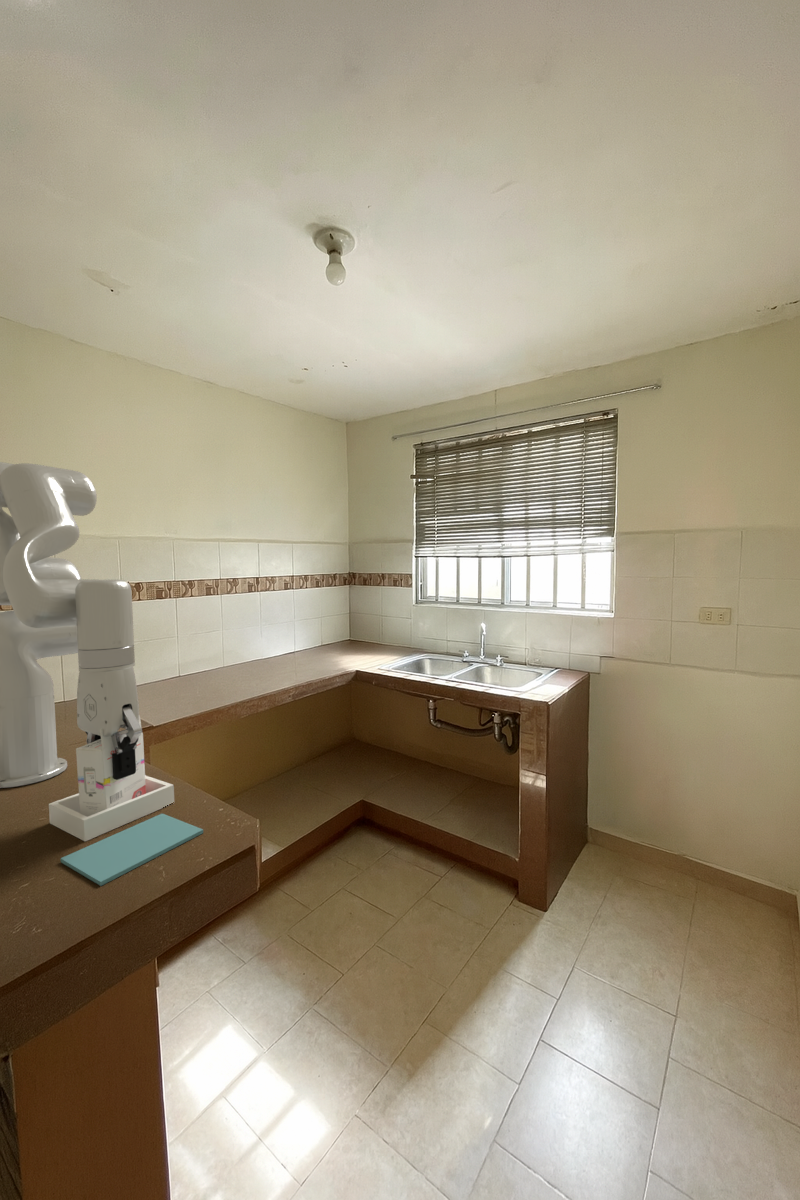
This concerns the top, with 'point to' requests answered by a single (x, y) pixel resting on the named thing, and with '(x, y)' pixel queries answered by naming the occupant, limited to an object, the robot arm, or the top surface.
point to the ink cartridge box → (106, 776)
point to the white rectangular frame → (109, 811)
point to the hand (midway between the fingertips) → (112, 771)
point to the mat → (130, 848)
